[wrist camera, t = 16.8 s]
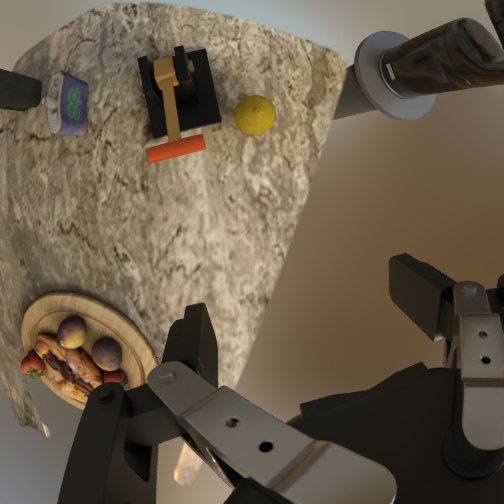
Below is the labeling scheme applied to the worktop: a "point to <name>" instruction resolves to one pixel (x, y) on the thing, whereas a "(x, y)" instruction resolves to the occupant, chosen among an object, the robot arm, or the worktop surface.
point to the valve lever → (171, 116)
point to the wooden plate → (82, 346)
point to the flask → (67, 105)
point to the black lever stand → (182, 92)
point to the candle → (18, 91)
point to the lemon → (254, 115)
